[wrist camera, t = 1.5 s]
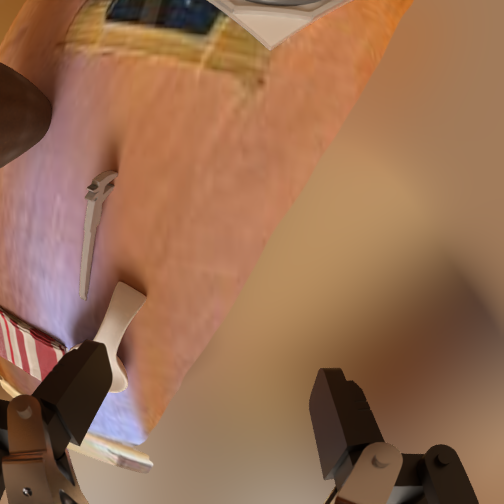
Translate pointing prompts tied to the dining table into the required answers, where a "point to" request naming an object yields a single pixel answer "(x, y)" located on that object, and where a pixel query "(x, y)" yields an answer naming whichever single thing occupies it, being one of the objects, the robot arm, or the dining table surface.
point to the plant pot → (20, 115)
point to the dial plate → (275, 17)
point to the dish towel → (28, 346)
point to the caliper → (93, 223)
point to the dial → (284, 2)
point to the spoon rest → (118, 329)
